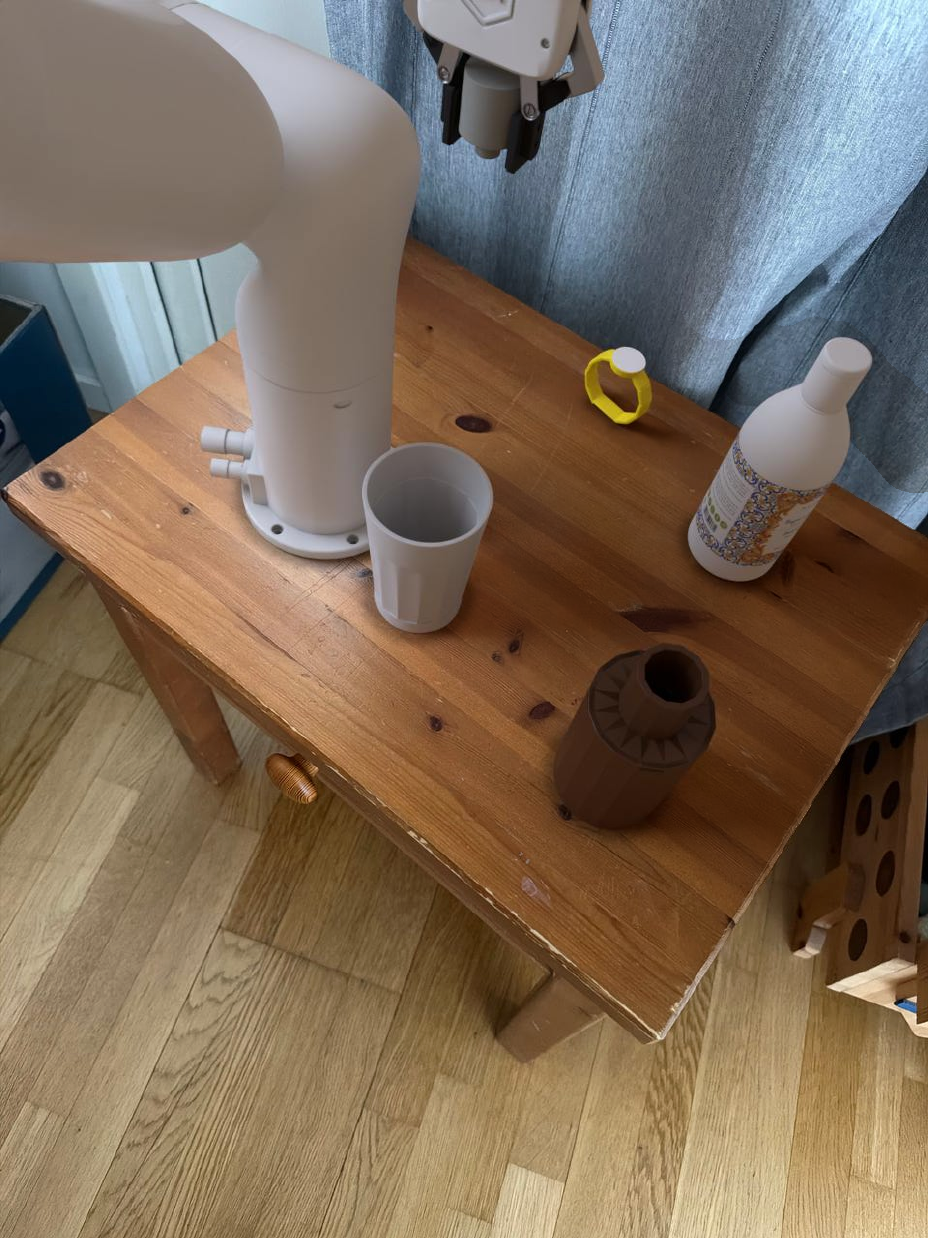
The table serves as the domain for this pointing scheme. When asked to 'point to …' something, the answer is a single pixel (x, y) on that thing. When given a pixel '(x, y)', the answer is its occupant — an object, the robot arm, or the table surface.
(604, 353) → the watch
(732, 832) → the table surface
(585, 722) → the bottle
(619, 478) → the table surface
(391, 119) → the robot arm
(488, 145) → the bung
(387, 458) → the cup
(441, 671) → the table surface
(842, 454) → the bath foam
